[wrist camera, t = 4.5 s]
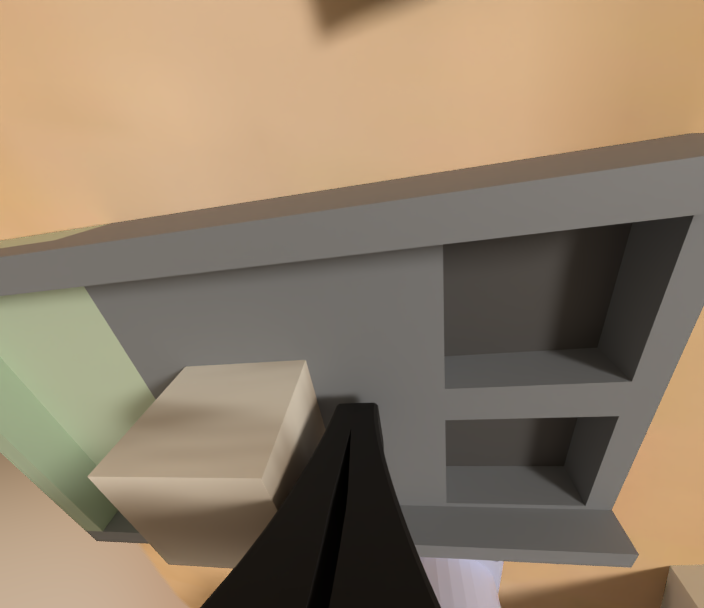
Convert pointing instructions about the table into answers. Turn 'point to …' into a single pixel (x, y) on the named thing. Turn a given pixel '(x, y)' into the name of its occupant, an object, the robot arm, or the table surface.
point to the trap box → (388, 335)
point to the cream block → (214, 459)
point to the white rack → (684, 587)
